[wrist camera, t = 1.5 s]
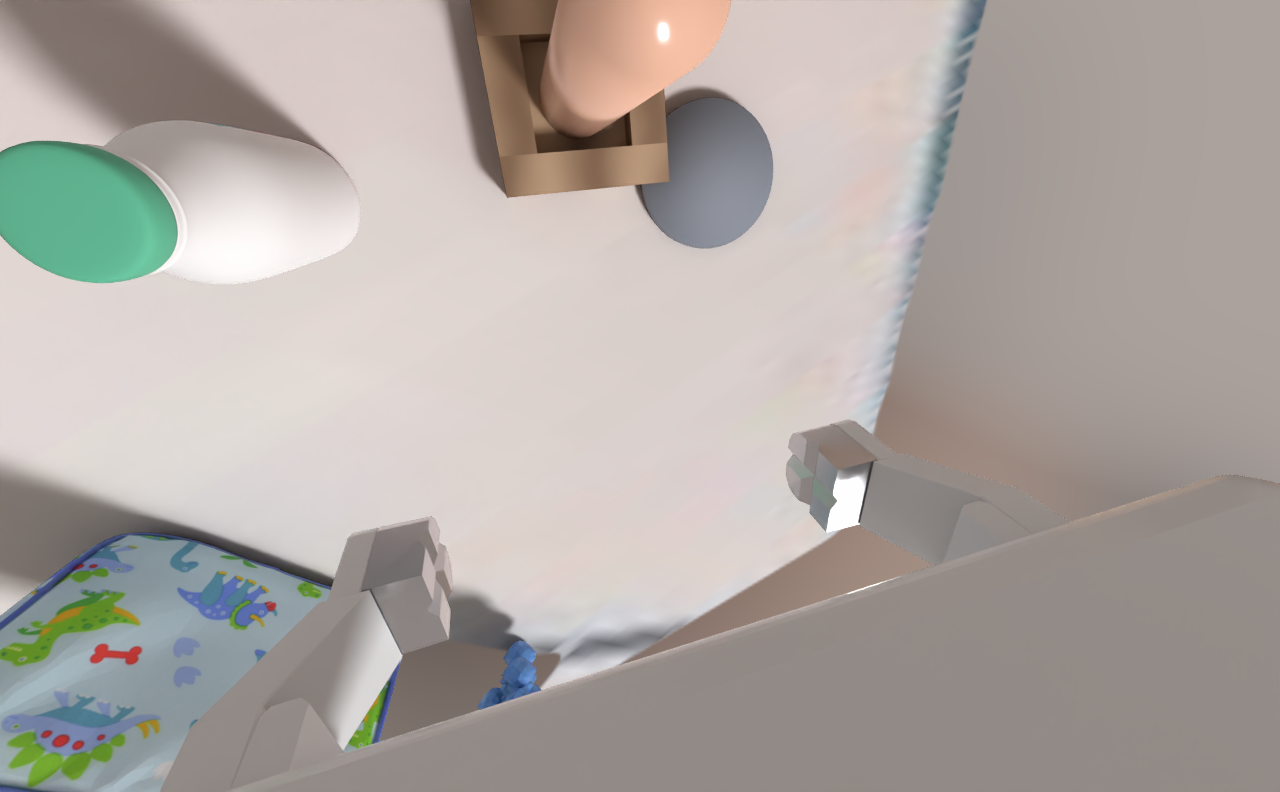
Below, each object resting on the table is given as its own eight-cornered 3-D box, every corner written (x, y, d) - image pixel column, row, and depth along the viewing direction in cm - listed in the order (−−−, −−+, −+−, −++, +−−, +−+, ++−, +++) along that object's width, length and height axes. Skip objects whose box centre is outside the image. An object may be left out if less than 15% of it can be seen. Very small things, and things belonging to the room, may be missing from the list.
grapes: (477, 616, 52) (466, 728, 41) (541, 607, 53) (547, 713, 43) (484, 690, 56) (477, 809, 46) (543, 680, 58) (549, 792, 47)
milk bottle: (352, 142, 33) (162, 91, 16) (372, 257, 36) (233, 326, 19) (222, 135, 32) (-159, 69, 14) (255, 257, 35) (-24, 331, 17)
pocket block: (507, 196, 37) (506, 197, 34) (471, 1, 32) (467, -16, 29) (658, 181, 39) (669, 181, 36) (646, -4, 34) (657, -21, 31)
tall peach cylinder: (523, 83, 33) (532, -63, 14) (584, 38, 33) (681, -177, 14) (568, 154, 36) (630, 115, 16) (625, 112, 36) (758, 20, 16)
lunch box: (65, 593, 41) (-316, 935, 22) (118, 500, 39) (-250, 789, 20) (368, 675, 52) (284, 952, 33) (422, 605, 50) (364, 858, 31)
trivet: (614, 154, 37) (616, 153, 36) (730, 68, 37) (736, 65, 36) (683, 272, 42) (687, 274, 41) (787, 198, 42) (793, 198, 41)
